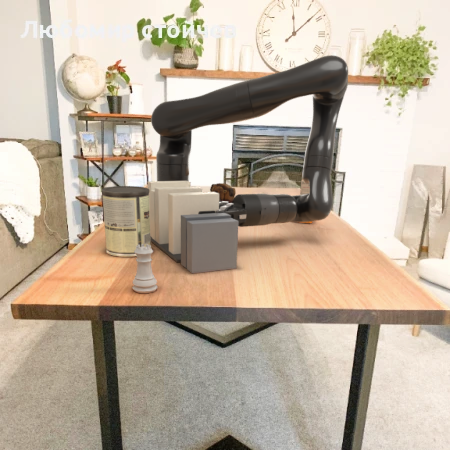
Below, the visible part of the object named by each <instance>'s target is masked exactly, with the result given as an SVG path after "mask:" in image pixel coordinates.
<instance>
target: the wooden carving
mask: <svg viewBox="0 0 450 450" xmlns="http://www.w3.org/2000/svg"><path fill="white" fill-rule="evenodd" d="M209 192H216V193H219V201H226V202H228V203H232V202H233V199H234V197H235V196H236V195H237V193H236V188H235V187H232V186H231V185H230V184H228V183H223V182H221V183H220V182H219V183H212V184H211V186H210V187H209Z"/></svg>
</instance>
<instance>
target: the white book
mask: <svg viewBox="0 0 450 450" xmlns="http://www.w3.org/2000/svg"><path fill="white" fill-rule="evenodd" d="M216 210H219V193H216V192H211V191H202V192H195V193H168V223H169V251H170V252H171V253H172V254H181V215H192V214H198V213H199V211H215V212H216Z"/></svg>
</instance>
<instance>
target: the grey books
mask: <svg viewBox="0 0 450 450" xmlns="http://www.w3.org/2000/svg"><path fill="white" fill-rule="evenodd" d="M238 223H239V221H237V220H235V219H233V218H231V215H229V214H226V213H211V214H192V215H181V262H180V265H181V266H182V267H183V268H185V269H186V270H187V271H188V272H190V273H191V274H197V273H207V272H208V273H209V272H217V271H218V272H219V271H225V270H234V269H237V267H238V266H237V264H238V245H239V244H238V243H239V226H238Z"/></svg>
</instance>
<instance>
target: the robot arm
mask: <svg viewBox="0 0 450 450" xmlns="http://www.w3.org/2000/svg"><path fill="white" fill-rule="evenodd" d="M348 85H349V66H348V64H347V62H346V61H345V60H344V58H342V57H340V56H338V55H324V56H321V57H318V58H315V59H313V60H310V61H308V62H305V63H301V64H300V65H297V66H295V67H292V68H289V69H285V70H282V71H278V72H274V73H271V74H267V75H264V76H260V77H256V78H251V79H248V80H244V81H243V80H242V81H239V82H237V83H233V84H230V85H227V86H223V87H221V88H218V89H215V90H212V91H210V92H207V93H205V94H202V95H199V96H195V97H189V98H183V99H175V100H167V101H163V102H161V103H159V104H158V105H157V106H156V107H155V108H154V109H153V111H152V112H151V113H152V114H151V117H150V121H151V123H150V124H151V126H152V129H153V130H154V131H155V133H156V134H158V135H159V147H158V150H157V152H156V157H155V159H156V161H155V162H156V181H189V182H190V157H191V152H192V137H193V136H192V135H193V130H196V129H199V128H203V127H206V126H207V127H208V126H216V125H217V126H218V125H228V124H234V123H242V122H245V121H249V120H254V119H257V118H258V119H259V118H261V117H263V116H266V115H268V114H269V113H272V112H273V111H274V110H276V109H278V108H279V107H281V106H283V105H284V104H286V103H288V102H289V101H292V100H294V99H297V98H302V97H307V96H312V121H311V127H310V132H309V137H308V139H307V143H306V147H305V152H304V160H303V167H302V177H301V178H302V179H303V181H304V182H305V183H307V184H309V186H310V193H309V194H304V195H300V194H298V195H291V194H288V193H287V194H286V193H275V194H271V193H240V194H235V197H234V199H233V202H232V203H228V202H226V201H219V210H216V212H215V211H199V213H198V214H211V213H226V214H229V215H231V218H233V219H235V220H237V221H239V223H238V228H244V227H245V228H247V227H258V226H259V227H260V226H267V225H274V224H275V225H276V224H286V223H299V222H309V221H312V222H317V221H318V222H319V221H323V220H326V219H327V218H328V217H329V215H330V213H331V212H332V210H333V205H334V197H333V187H332V181H331V174H332V168H333V162H334V161H333V160H334V153H335V151H334V150H335V140H336V139H335V138H336V128H337V122H338V118H339V115H340V111H341V108H342V104H343V101H344V97H345V94H346V93H347V89H348Z"/></svg>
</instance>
